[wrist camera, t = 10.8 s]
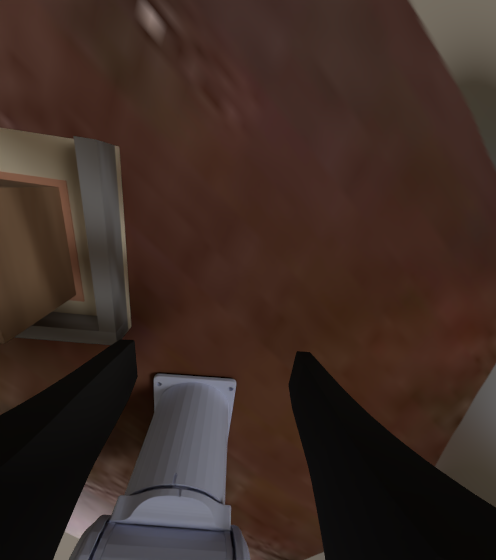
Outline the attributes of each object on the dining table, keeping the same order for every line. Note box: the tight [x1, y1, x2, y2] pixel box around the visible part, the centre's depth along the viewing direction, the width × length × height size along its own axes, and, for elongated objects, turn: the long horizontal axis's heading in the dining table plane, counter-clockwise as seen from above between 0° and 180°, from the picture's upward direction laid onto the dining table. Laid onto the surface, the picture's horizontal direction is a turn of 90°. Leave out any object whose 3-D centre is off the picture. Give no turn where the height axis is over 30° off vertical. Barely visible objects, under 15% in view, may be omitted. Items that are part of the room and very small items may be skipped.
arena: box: [0, 128, 131, 345], centre depth 16 cm, size 14×15×3 cm
